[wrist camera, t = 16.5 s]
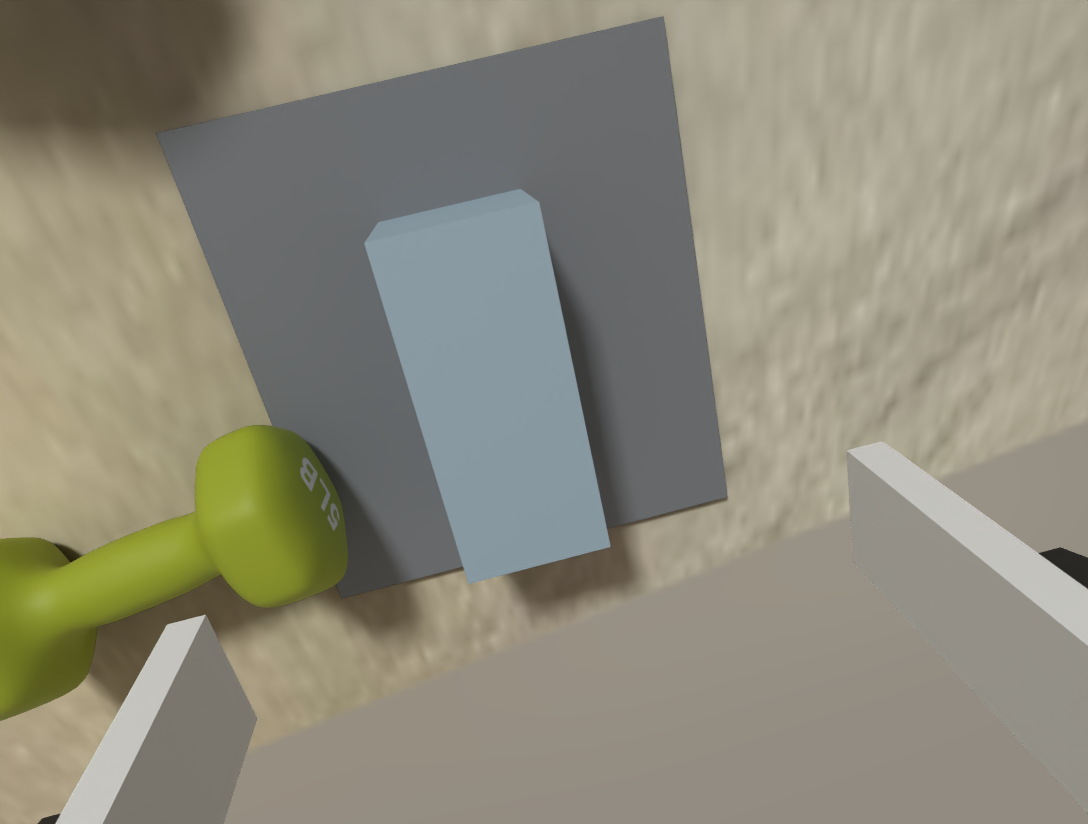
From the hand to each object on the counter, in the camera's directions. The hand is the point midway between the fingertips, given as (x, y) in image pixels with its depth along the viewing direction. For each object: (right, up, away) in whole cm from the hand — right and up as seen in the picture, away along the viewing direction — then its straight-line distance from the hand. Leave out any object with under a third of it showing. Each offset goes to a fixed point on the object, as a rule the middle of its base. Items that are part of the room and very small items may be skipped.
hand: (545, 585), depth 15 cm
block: (-1, -2, +18) cm, 18 cm away
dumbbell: (-17, -2, +19) cm, 26 cm away
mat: (-3, +7, +18) cm, 19 cm away
